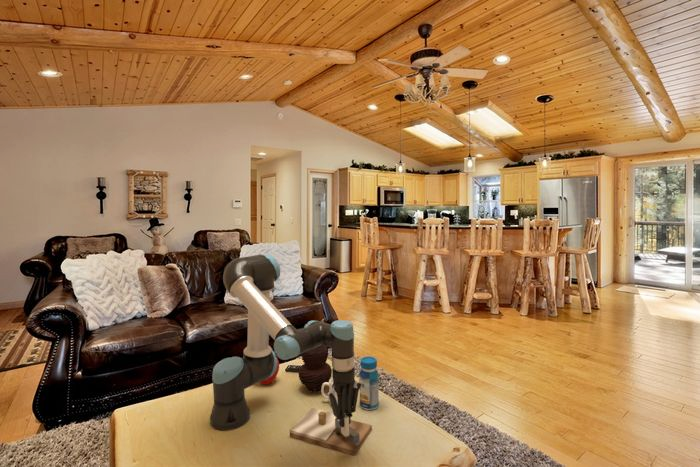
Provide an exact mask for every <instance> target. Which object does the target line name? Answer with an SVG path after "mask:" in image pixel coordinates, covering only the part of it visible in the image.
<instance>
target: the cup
mask: <svg viewBox="0 0 700 467" xmlns="http://www.w3.org/2000/svg"><path fill="white" fill-rule="evenodd" d="M325 385H326V386H328V388H329V390H328V391H329V392H330V390H331V389H332V385H333V377H331V379H330V380H329V382H325V383H323V385H322V388H321V391H320V392H321V395H322V397H323V398H324V399H326V400H330V399H329V397H328V395H327V394H326V393H325V387H326V386H325ZM324 386H325V387H324ZM335 395H336V396H335V398H336V401H337V404H338V397H337V393H336V392H335ZM329 405H330V406H331V403H330V402H329Z"/></svg>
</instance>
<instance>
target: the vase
mask: <svg viewBox="0 0 700 467" xmlns="http://www.w3.org/2000/svg"><path fill="white" fill-rule="evenodd" d="M306 324H307V323H305V324H304V326H305V325H306ZM300 356H301V360H302V362H303V364H302V365H301V366H300V367H299V370H298V371H297V372H298V380H300V383H301V384H302V385H303V386H304V387H305V388H306V390H307V391H308V392H309V393H310V392H311V393H320V392H321V388H322V385H323V383H325V382H329V380H330V379H331V378H332V369H333V368H332V365H330V364H329V363H328V362H327V361H328V357H329V347H326V346H318V347H316V348H314V349H311V350H309V351H306V352H304V353H302V354H300ZM326 386H327V385H325V386H324V388H326Z"/></svg>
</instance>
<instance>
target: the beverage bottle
mask: <svg viewBox="0 0 700 467" xmlns="http://www.w3.org/2000/svg"><path fill="white" fill-rule="evenodd" d="M377 366H378V360H377V358H376V357H374V356H364V357H362V358H360V368H361V369H360V371H359V374H358V377H359V378H358V382H359V383H360V384H361V386H360V389H359V406H360V407H361V409H363V410H366V411H372V410H376V409H377V408H379V407H380V401H379V400H380V399H379V398H380V397H379V388H380V387H379V385H380V379H379V375H380V374H379V372H378V370H377Z"/></svg>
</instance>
